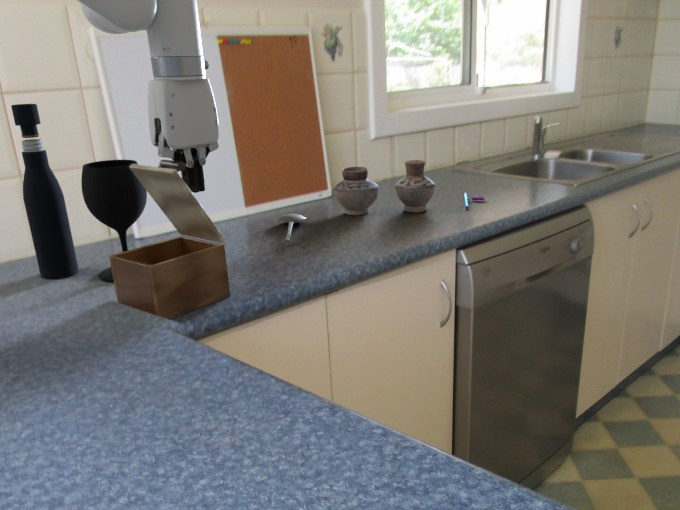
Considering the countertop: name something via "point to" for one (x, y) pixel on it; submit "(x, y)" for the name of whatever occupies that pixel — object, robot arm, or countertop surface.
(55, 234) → the black water bottle
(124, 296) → the chest
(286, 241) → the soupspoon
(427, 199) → the pottery
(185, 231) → the chest lid
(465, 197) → the squeegee
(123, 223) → the wine glass
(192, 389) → the countertop surface
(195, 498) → the countertop surface
